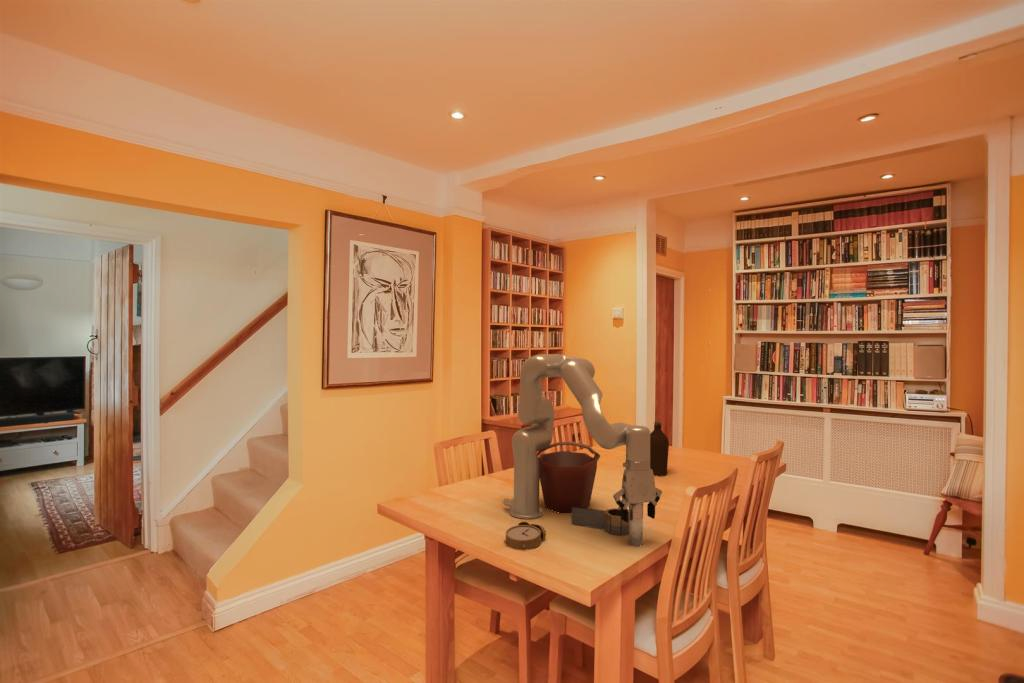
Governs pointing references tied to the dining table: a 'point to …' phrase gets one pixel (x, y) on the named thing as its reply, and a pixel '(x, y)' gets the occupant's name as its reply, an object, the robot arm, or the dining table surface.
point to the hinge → (601, 519)
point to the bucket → (567, 477)
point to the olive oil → (658, 450)
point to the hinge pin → (635, 524)
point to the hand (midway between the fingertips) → (638, 518)
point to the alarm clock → (525, 536)
